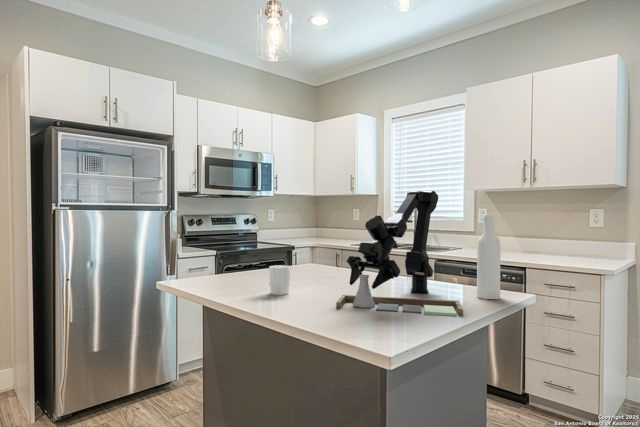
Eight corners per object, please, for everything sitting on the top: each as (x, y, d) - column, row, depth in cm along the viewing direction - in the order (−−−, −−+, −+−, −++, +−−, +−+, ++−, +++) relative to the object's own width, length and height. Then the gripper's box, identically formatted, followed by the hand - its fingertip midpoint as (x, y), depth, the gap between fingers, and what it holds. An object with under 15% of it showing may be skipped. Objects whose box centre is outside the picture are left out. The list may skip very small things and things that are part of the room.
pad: (423, 307, 132) (423, 304, 132) (453, 309, 131) (453, 306, 131) (424, 314, 124) (424, 311, 124) (456, 316, 122) (456, 313, 122)
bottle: (483, 300, 144) (483, 214, 144) (472, 295, 152) (473, 214, 152) (504, 299, 145) (505, 214, 145) (493, 295, 153) (494, 214, 153)
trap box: (342, 300, 142) (342, 294, 142) (458, 306, 133) (458, 300, 133) (336, 308, 130) (336, 302, 130) (463, 316, 122) (463, 309, 122)
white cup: (278, 290, 160) (278, 264, 160) (294, 293, 155) (294, 266, 155) (264, 293, 153) (264, 266, 153) (280, 296, 149) (280, 268, 149)
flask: (374, 309, 130) (374, 277, 130) (351, 308, 131) (351, 276, 131) (375, 304, 137) (375, 274, 137) (354, 303, 139) (354, 273, 138)
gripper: (350, 232, 144) (328, 267, 136) (395, 234, 130) (373, 273, 123) (364, 253, 149) (343, 288, 141) (408, 257, 136) (389, 296, 128)
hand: (361, 286), depth 133 cm, fingers open, 9 cm apart
